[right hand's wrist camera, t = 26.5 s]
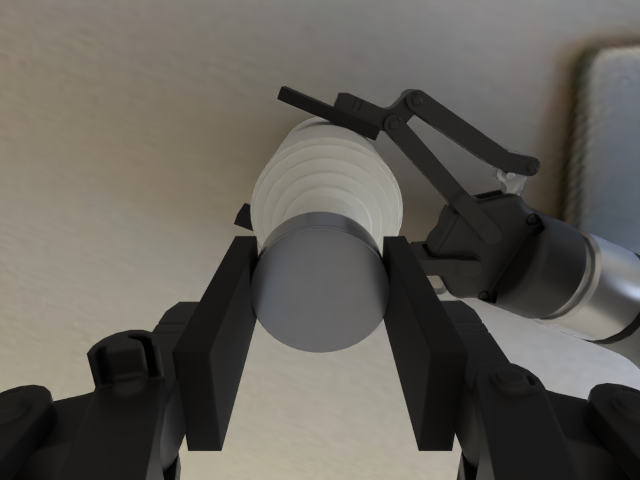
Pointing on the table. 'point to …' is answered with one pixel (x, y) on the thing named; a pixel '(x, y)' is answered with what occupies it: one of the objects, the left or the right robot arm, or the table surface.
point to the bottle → (327, 181)
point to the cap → (320, 283)
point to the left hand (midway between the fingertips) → (259, 156)
